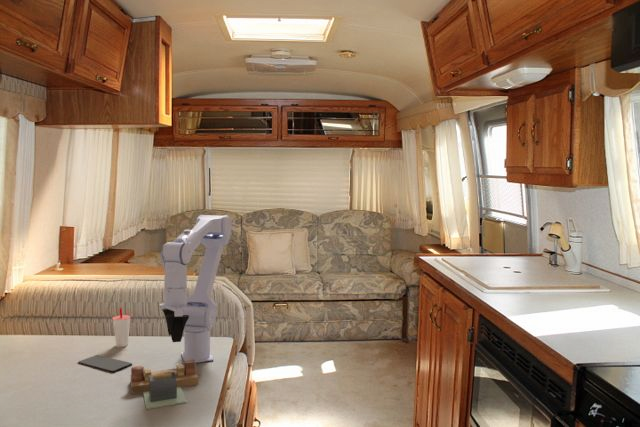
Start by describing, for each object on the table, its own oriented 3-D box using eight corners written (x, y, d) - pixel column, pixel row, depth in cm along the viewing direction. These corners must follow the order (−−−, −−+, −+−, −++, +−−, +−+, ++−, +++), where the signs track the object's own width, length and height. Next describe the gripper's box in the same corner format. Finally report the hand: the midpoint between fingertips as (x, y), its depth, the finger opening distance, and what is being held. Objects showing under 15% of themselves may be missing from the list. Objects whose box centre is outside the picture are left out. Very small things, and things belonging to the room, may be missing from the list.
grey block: (149, 395, 124) (148, 372, 124) (174, 391, 127) (174, 368, 126) (150, 402, 121) (150, 378, 120) (176, 398, 123) (176, 374, 123)
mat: (143, 393, 126) (143, 392, 126) (180, 388, 130) (180, 386, 130) (146, 409, 118) (146, 407, 118) (186, 402, 122) (186, 401, 121)
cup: (113, 349, 158) (112, 310, 157) (112, 343, 162) (111, 306, 161) (131, 346, 160) (130, 309, 159) (130, 341, 165) (129, 304, 164)
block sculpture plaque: (130, 382, 133) (130, 363, 133) (193, 373, 139) (193, 355, 139) (132, 394, 126) (132, 374, 125) (198, 384, 132) (198, 365, 132)
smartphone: (97, 354, 152) (133, 363, 145) (97, 357, 152) (133, 366, 145) (76, 361, 146) (112, 371, 139) (76, 364, 146) (112, 374, 139)
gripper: (157, 283, 141) (156, 332, 142) (162, 292, 128) (162, 346, 128) (183, 282, 144) (182, 330, 144) (191, 291, 131) (190, 344, 131)
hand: (174, 338), depth 136 cm, fingers open, 7 cm apart
